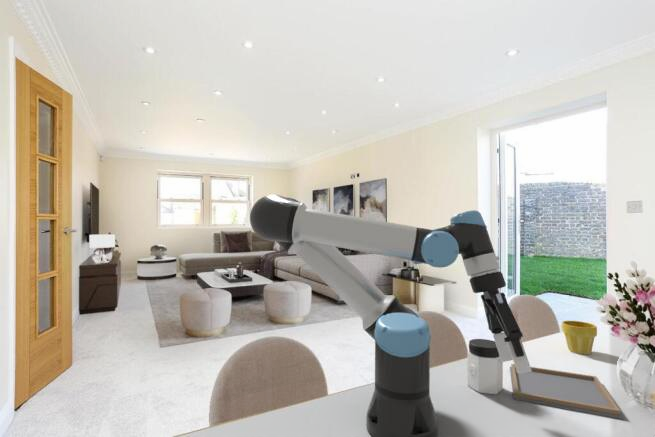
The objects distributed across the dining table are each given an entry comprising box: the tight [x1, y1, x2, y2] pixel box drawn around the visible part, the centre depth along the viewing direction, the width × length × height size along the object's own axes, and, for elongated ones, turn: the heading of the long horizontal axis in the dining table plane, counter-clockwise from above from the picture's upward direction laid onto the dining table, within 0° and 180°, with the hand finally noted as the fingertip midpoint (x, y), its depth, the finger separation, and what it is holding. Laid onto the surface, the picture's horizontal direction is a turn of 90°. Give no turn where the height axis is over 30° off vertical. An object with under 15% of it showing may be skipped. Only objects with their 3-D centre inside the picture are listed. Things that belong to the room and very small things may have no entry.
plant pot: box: [561, 320, 598, 355], centre depth 129 cm, size 10×10×10 cm
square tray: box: [509, 363, 624, 420], centre depth 98 cm, size 22×22×2 cm
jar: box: [467, 338, 504, 395], centre depth 99 cm, size 9×8×12 cm
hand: (515, 366), depth 82 cm, fingers open, 13 cm apart
